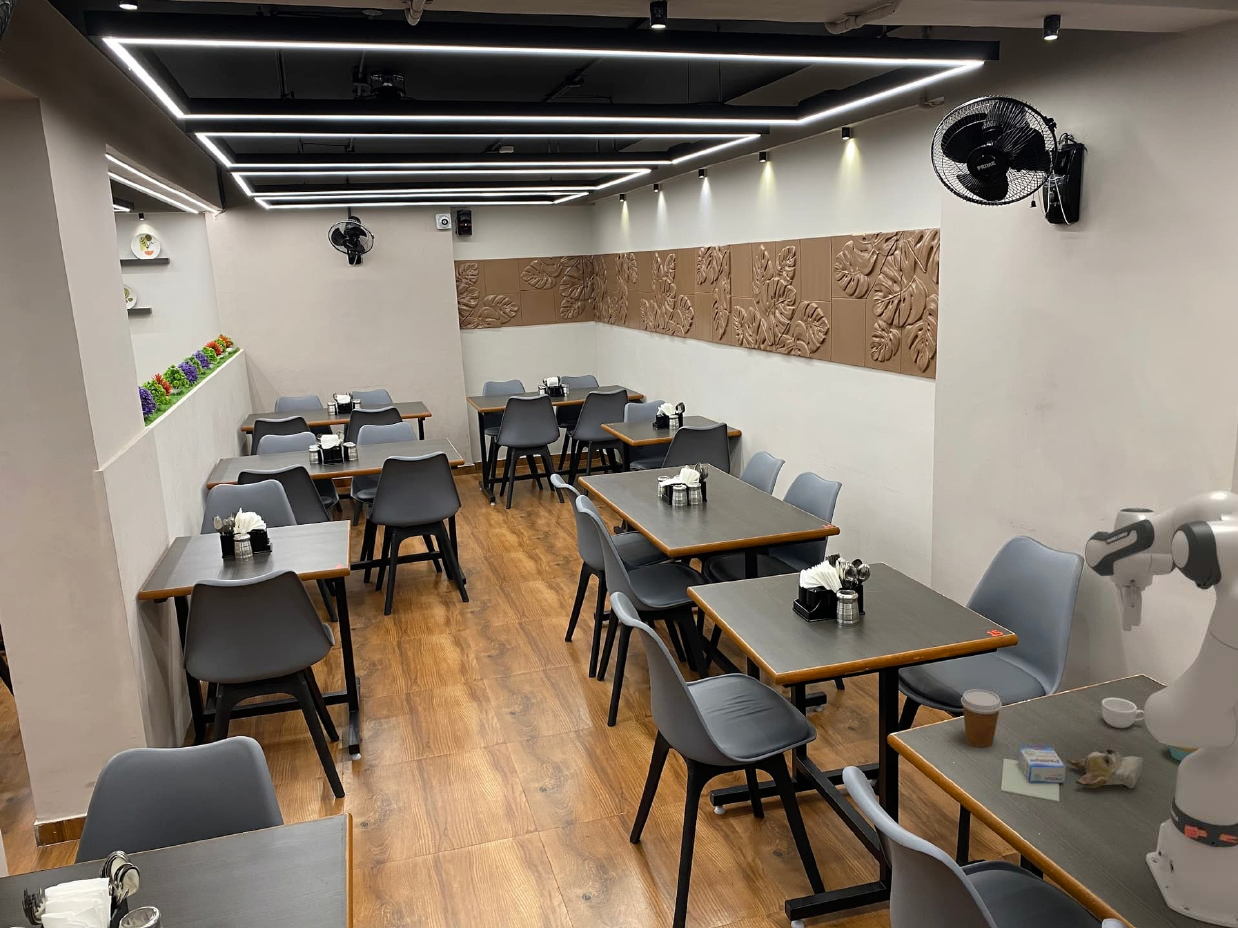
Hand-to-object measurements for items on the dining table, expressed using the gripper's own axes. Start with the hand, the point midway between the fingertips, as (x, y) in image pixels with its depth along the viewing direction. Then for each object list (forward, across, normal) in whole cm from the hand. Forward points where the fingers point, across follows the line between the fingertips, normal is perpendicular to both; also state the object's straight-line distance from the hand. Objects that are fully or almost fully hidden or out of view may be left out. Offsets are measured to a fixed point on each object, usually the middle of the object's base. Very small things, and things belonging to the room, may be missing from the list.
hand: (1126, 628), depth 214 cm
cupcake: (+31, 0, -14) cm, 34 cm away
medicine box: (+29, -15, +18) cm, 37 cm away
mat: (+31, -23, +19) cm, 43 cm away
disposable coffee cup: (+31, -9, +31) cm, 45 cm away
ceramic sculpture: (+32, -18, +3) cm, 36 cm away
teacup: (+31, +12, -2) cm, 34 cm away
